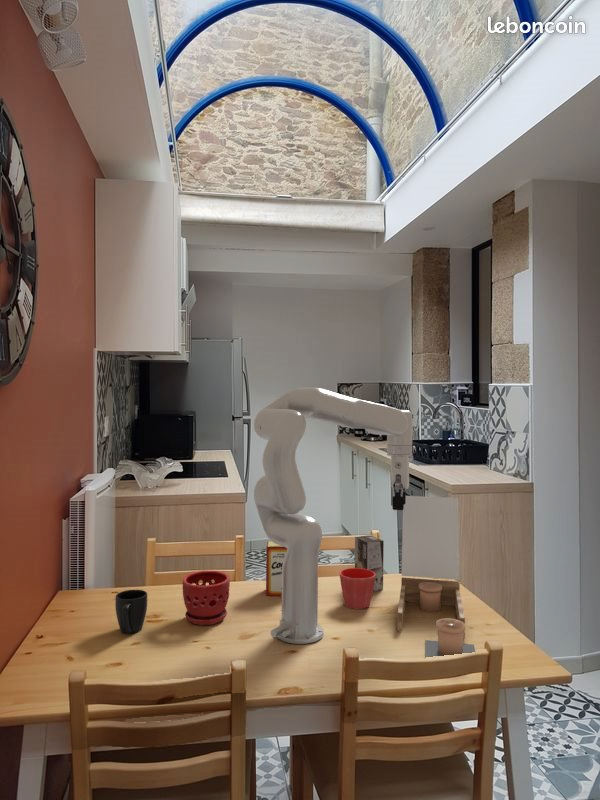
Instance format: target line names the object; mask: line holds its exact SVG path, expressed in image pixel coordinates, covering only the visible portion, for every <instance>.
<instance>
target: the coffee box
mask: <svg viewBox="0 0 600 800" xmlns="http://www.w3.org/2000/svg"><path fill="white" fill-rule="evenodd" d="M384 542H385V541H384V540H383V539H380V538H377V537H375V536H373V535H370V534H369V535H362V536H354V568H362V569H368V570H371V571H373V572H374V573H375V574H376V577H375V583H374V588H373V590H376V591H379V590H378V589H383V590H384V544H385V543H384Z"/></svg>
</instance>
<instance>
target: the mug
mask: <svg viewBox="0 0 600 800" xmlns="http://www.w3.org/2000/svg"><path fill="white" fill-rule="evenodd" d="M114 603H115V614H116V615H115V616H116V619H117V624H118V626H119V630H120V631H119V632H121V634H126V635H132V634H137V633H139V632H141V631H142V630H143V626H144V623H145V621H146V620H145V619H146V615H147V611H148V610H147V609H148V592H147V591H146V590H143V589H127V590H123V591H120V592H118V593H116V595H115V602H114Z"/></svg>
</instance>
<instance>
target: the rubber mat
mask: <svg viewBox="0 0 600 800" xmlns="http://www.w3.org/2000/svg"><path fill="white" fill-rule="evenodd" d="M424 650H425V652H424V653H425V655H424V656H425V657H433V656H443V655H441V654H439V653H438V640H430V639H429V640H428V639H425V649H424ZM472 652H475V653H476V649H475V644H471V643H463V653H472ZM425 657H424V658H425Z"/></svg>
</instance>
